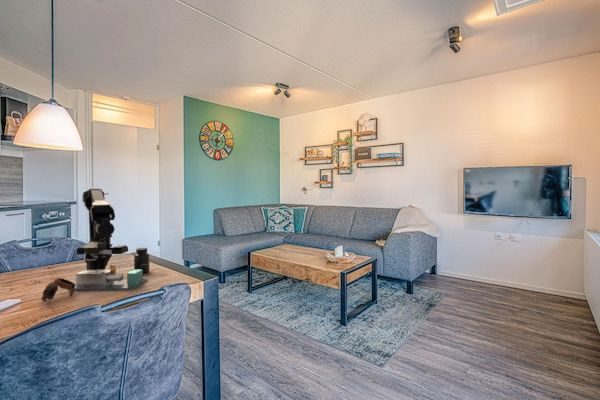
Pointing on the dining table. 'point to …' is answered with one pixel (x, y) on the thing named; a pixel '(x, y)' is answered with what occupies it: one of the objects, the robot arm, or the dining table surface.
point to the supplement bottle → (141, 260)
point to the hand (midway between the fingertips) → (103, 269)
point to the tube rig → (98, 281)
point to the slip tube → (114, 274)
